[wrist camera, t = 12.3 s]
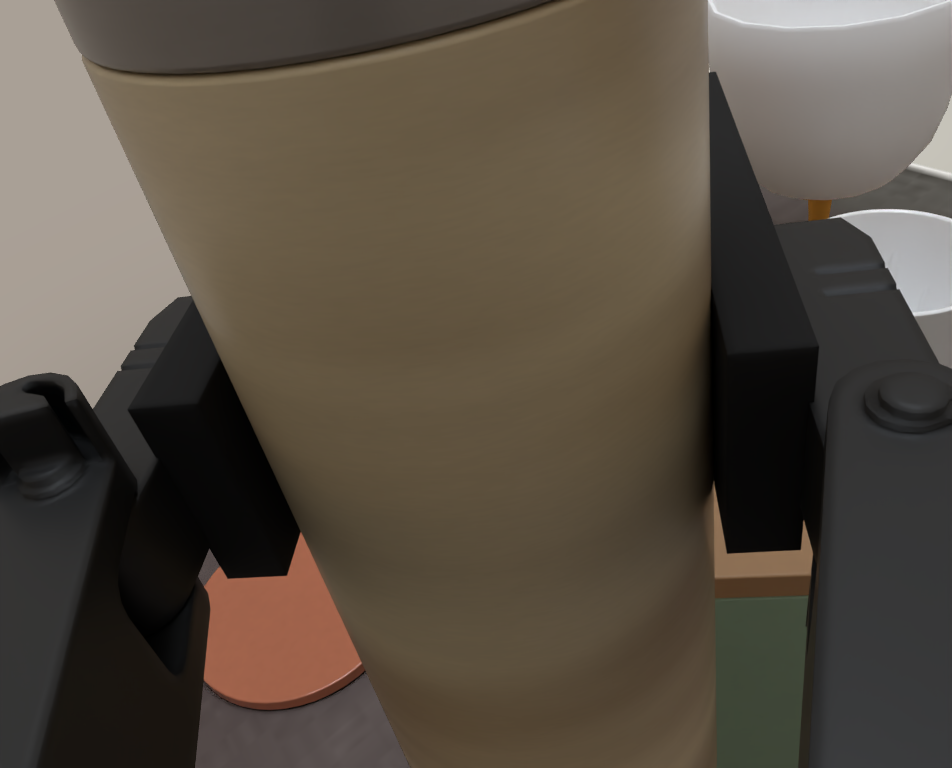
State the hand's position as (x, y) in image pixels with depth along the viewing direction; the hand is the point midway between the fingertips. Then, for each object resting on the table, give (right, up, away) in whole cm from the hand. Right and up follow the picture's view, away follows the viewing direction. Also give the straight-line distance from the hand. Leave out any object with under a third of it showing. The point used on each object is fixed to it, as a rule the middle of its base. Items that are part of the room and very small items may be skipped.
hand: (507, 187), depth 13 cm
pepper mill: (+1, -4, +3) cm, 5 cm away
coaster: (-9, -13, +25) cm, 29 cm away
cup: (+19, +2, +36) cm, 41 cm away
